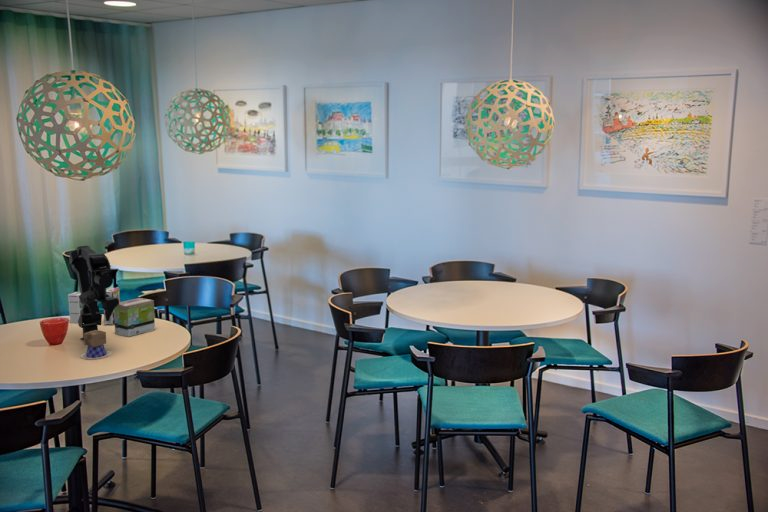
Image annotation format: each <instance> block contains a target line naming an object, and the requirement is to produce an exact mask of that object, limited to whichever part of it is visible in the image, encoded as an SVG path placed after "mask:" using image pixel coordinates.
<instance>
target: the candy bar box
mask: <svg viewBox="0 0 768 512" xmlns="http://www.w3.org/2000/svg"><path fill="white" fill-rule="evenodd" d="M106 294H108V295H109V297H107V298H110V297H114V298H118V299H119V302H121V297H120V296H121V293H120V287H109V288H106ZM103 319H104V321H103V322H104V323H103V324H104V326H115V317H114V310H113V313H112V315H111V317H110V319H109V321H106V317H105V310H104V309H103Z"/></svg>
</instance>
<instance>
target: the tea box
mask: <svg viewBox="0 0 768 512" xmlns="http://www.w3.org/2000/svg"><path fill="white" fill-rule="evenodd" d="M114 317H115V325H114V333H115V334H116V335H117V336H118V335H119V336H122V337H127V338H129V337H133V336H136V335H139V334H143V333H148V332H151V331H152V332H153V331H155V330H156V329H155V328H156V327H155V300H153V299H150V298H149V299H148V298H143V297H138V298H133V299H128V300H125V301H120V302H119V305H117V306H116V307H115V309H114Z"/></svg>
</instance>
